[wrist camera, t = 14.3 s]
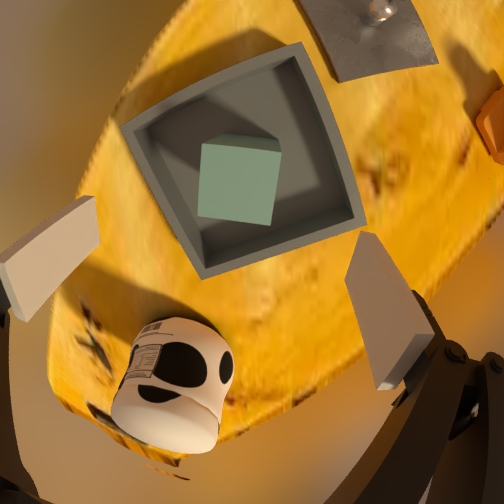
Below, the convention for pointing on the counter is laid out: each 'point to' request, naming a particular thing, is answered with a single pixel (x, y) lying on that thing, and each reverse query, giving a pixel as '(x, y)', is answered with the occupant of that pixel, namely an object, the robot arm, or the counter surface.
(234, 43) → the counter surface
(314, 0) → the base
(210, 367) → the milk container
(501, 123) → the bracket
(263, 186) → the green rectangular block
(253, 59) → the bin
